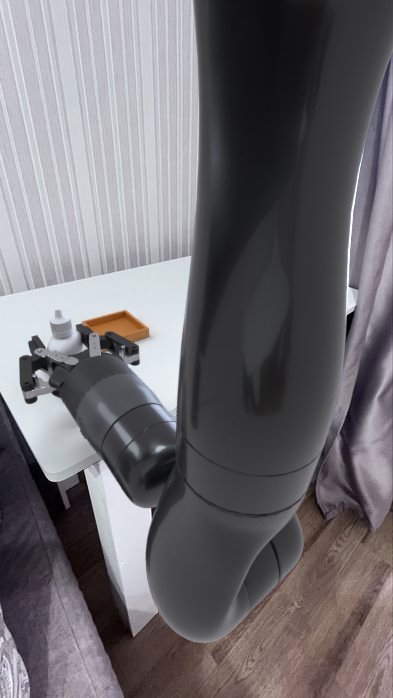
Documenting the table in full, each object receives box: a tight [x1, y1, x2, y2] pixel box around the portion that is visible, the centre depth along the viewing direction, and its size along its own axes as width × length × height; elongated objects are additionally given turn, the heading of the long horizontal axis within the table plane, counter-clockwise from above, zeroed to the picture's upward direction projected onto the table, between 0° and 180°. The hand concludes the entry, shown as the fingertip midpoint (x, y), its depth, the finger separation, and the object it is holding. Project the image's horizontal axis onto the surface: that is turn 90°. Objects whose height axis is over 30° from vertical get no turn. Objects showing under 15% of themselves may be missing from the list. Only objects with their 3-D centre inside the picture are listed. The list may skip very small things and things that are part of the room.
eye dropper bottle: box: [46, 307, 85, 399], centre depth 43 cm, size 4×6×12 cm
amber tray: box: [81, 309, 150, 352], centre depth 69 cm, size 10×10×2 cm
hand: (57, 336), depth 44 cm, fingers closed on eye dropper bottle, 5 cm apart
